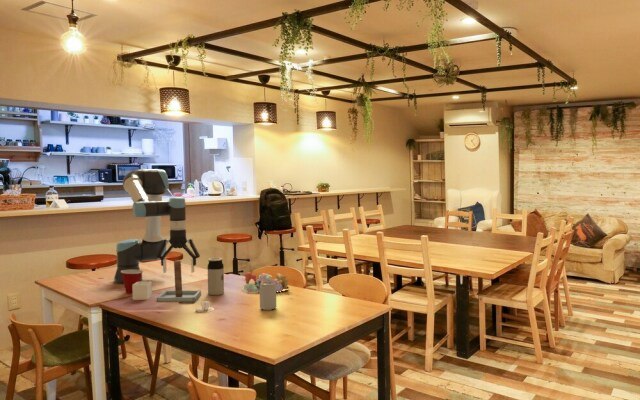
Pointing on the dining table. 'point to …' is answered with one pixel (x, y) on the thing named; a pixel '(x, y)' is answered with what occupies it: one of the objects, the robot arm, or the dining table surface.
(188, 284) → the dining table surface
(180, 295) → the dowel
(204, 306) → the cream curved piece
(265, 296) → the can
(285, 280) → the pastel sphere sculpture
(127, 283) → the plastic cup
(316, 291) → the dining table surface
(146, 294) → the square open box
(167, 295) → the tray
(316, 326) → the dining table surface
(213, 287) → the travel mug
